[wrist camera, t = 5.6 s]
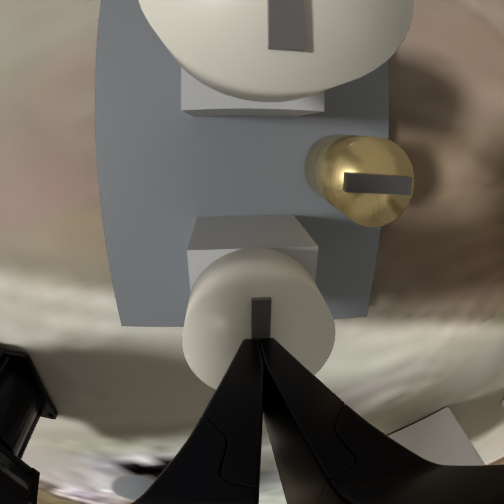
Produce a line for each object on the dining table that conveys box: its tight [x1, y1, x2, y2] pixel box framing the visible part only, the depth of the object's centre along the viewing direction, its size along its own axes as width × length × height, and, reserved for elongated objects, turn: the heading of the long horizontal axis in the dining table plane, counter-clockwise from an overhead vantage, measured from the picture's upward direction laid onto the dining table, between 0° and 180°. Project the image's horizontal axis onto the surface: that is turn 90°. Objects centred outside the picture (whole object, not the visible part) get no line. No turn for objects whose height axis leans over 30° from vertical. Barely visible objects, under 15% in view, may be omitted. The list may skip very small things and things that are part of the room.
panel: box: [95, 0, 389, 327], centre depth 10 cm, size 24×13×5 cm, turn 0°
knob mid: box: [138, 0, 414, 102], centre depth 6 cm, size 4×4×6 cm
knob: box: [182, 248, 335, 390], centre depth 11 cm, size 4×4×6 cm
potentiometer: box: [304, 134, 414, 227], centre depth 11 cm, size 3×3×4 cm
